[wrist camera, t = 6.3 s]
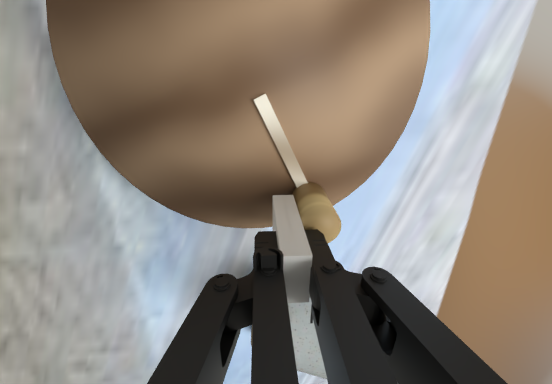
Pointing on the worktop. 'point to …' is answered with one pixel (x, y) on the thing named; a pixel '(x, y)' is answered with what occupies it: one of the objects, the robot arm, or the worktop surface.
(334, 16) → the disc
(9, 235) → the worktop surface
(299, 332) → the ceramic mug
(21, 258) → the worktop surface
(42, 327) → the worktop surface
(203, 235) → the worktop surface
